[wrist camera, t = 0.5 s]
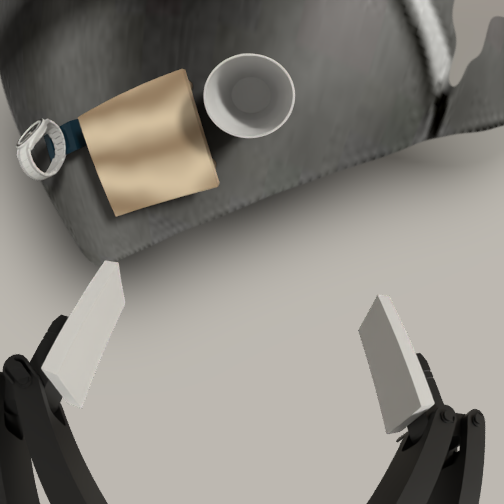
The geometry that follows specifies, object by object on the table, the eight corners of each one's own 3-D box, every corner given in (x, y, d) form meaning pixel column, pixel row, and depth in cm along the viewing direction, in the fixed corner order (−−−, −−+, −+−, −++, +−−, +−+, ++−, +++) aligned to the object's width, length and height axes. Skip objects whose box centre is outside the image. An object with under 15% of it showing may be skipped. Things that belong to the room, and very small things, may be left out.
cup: (260, 53, 27) (261, 38, 19) (297, 105, 31) (312, 109, 22) (205, 88, 30) (186, 87, 22) (242, 138, 33) (237, 154, 25)
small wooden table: (101, 111, 31) (77, 117, 26) (194, 72, 29) (181, 68, 24) (133, 199, 38) (115, 216, 33) (223, 172, 36) (217, 186, 31)
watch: (78, 106, 30) (28, 118, 21) (92, 155, 34) (47, 180, 25) (52, 120, 31) (3, 137, 21) (66, 166, 35) (21, 193, 25)
